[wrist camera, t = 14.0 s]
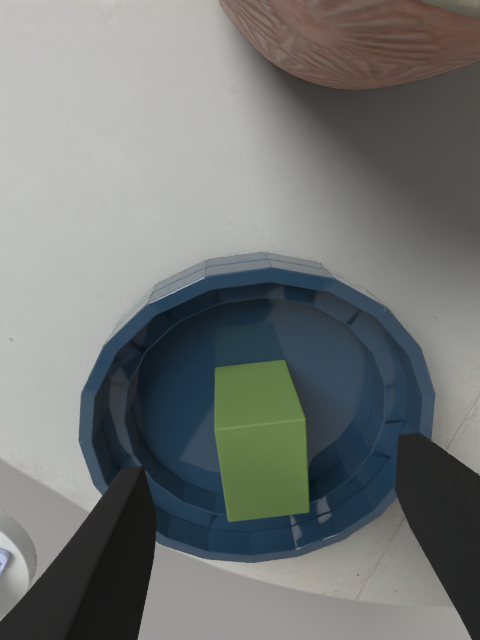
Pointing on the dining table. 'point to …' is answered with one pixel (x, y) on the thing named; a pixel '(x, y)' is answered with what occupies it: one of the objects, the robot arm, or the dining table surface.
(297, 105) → the dining table surface
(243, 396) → the scrub pad
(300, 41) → the planter
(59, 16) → the dining table surface
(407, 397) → the bowl
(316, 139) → the dining table surface
